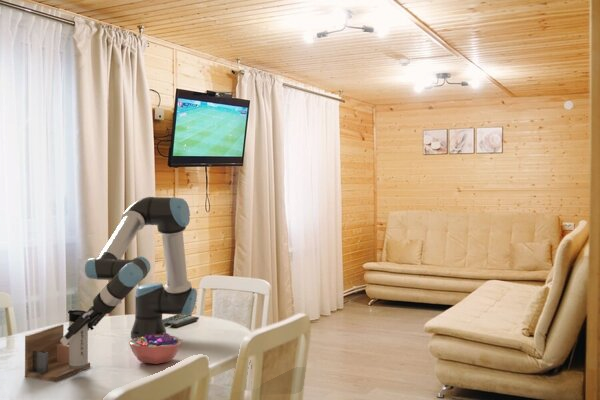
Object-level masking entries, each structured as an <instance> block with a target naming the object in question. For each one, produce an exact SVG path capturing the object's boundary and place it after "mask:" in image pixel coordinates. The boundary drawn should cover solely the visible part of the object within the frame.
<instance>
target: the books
mask: <svg viewBox="0 0 600 400" xmlns="http://www.w3.org/2000/svg"><path fill="white" fill-rule="evenodd" d="M57 361H60V362H66V363H69V343H68V344H67V345H66V346H64V345H63V344H62V342H61V341H60V344H57Z"/></svg>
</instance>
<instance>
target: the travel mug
mask: <svg viewBox="0 0 600 400" xmlns="http://www.w3.org/2000/svg"><path fill="white" fill-rule="evenodd" d="M84 311H85V312H87V311H86V310H82V309H81V310H80V309H74V310H72V309H70V310H68V311H67V314H69V315H68V327H70V326H71V325H72V324H73V323H74V322H75V321H76V320H77V319H78V318H79V316H80V315H81V314H82V313H83V312H84ZM88 332H89V331H88V323H87V324H86V325H85V326H84V327H83V328H82V329H80V330H79V331H78V332H77V333H76V335H75V337H74V338H73V339H72V340H71V341H70V342H69V367H70V368H72V369H81V368H85V367H87V365H88V362H89V361H88V360H89V359H88V358H89V357H88V356H89V355H88V352H89V346H88V345H89V344H88V343H89V339H88V338H89V333H88Z"/></svg>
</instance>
